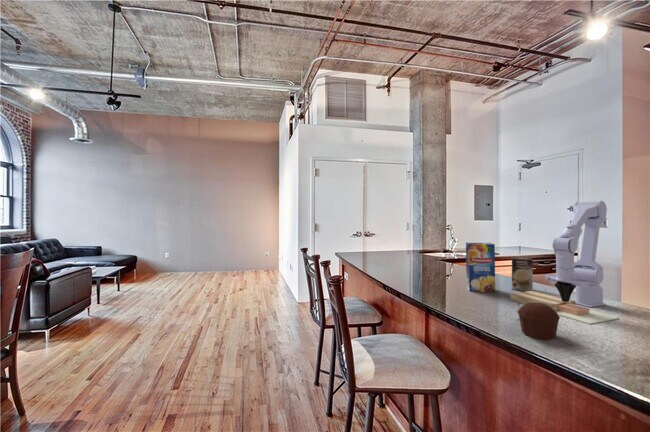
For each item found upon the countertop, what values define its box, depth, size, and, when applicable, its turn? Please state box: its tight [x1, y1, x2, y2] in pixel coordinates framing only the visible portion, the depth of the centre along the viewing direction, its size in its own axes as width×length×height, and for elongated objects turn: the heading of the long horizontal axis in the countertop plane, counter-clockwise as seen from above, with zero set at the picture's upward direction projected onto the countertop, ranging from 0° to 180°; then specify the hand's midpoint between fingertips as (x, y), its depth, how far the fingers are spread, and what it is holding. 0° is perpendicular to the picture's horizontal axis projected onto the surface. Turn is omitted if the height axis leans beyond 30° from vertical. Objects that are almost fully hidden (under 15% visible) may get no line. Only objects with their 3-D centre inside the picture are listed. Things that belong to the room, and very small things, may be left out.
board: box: [510, 290, 576, 311], centre depth 131 cm, size 14×18×3 cm
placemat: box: [556, 309, 620, 325], centre depth 116 cm, size 16×13×1 cm
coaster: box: [557, 303, 590, 316], centre depth 119 cm, size 7×7×2 cm
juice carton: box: [465, 242, 496, 293], centre depth 156 cm, size 12×8×24 cm, turn 76°
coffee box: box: [511, 256, 534, 292], centre depth 156 cm, size 9×6×16 cm
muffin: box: [516, 302, 561, 341], centre depth 99 cm, size 12×11×10 cm
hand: (565, 301), depth 122 cm, fingers closed
